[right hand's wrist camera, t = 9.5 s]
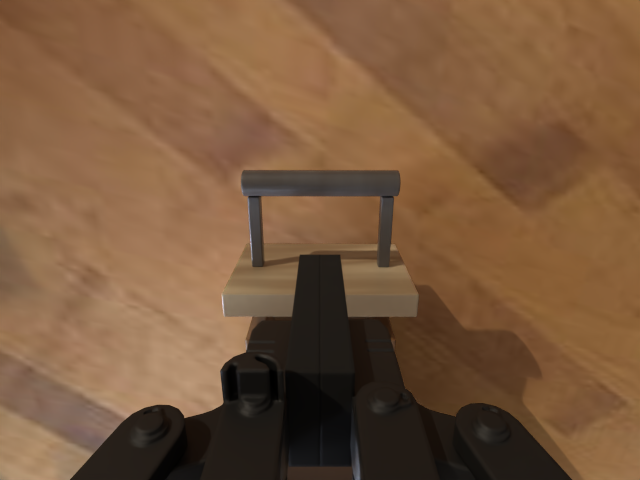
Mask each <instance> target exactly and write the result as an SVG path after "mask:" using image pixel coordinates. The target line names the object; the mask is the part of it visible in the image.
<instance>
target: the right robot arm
mask: <svg viewBox="0 0 640 480" xmlns="http://www.w3.org/2000/svg"><path fill="white" fill-rule="evenodd" d="M220 373H221V382H222V391H223V401H224V403H223V405H221V406H220V407H218V408H216V409H214V410H212V411H209V412H206V413H203V414H200V415H196V416H192V417H188V418H184V415H183V414H182V413H181V411H180V410H179V409H177V408H175V407H173V406H170V405H155V406H150V407H146V408H143V409H141V410H139V411H137V412H135V413H133V414H132V415H130V416H129V417H128V418H127V419H126V420H125V421H123V422H122V423H121V424H120V425H119V426H118V428H117V429H116V430H115V431H114V432H113V433H112V434H111V435H110V436H109V437H108V439H107V440H106V441H105V442H104V443H103V444H102V445H101V446H100V447H99V448H98V450H97V451H96V452H95V453H94V454H93V455H92V456H91V457H90V458H89V459H88V461H87V462H86V463H85V464H84V465H83V466H82V467H81V468H80V469H79V471H78V472H77V473H76V474H75V475H74V476H73V477H72V478H71V479H70V480H288V476H287V472H288V466H289V467H351V466H352V470H353V476H352V480H572V479H571V478H570V477H569V476H568V475H567V474H566V472H565V471H564V470H563V469H562V468H561V467H560V466H559V465H558V464H557V463H556V462H555V460H554V459H553V458H552V457H551V456H550V455H549V454H548V453H547V452H546V451H545V449H544V448H543V447H542V446H541V445H540V444H539V443H538V442H537V441H536V440H535V439H534V437H533V436H532V435H531V434H530V433H529V432H528V431H527V430H526V429H525V428H524V426H523V425H522V424H521V423H520V422H519V421H518V420H517V419H515V418H514V417H513V416H512V415H511V414H509V413H508V412H506V411H504V410H502V409H500V408H498V407H496V406H492V405H488V404H484V403H473V404H469V405H466V406H464V407H462V408H461V409H460V410H459V411H458V413H457V414H456V417H455V416H451V415H447V414H443V413H439V412H435V411H432V410H429V409H427V408H425V407H423V406H421V405H420V404H418V403H417V402H416V400H415V398H414V397H413V395H412V393H411V392H409V391H408V390H407V389H406V388H405V386H404V383H403V379H402V376H401V372H400V369H399V366H398V362H397V359H396V355H395V352H394V348H393V345H392V342H391V338H390V334H389V331H388V328H387V327H386V326H385V325H384V324H383V323H382V322H381V321H380V320H379V319H348V312H347V304H346V296H345V288H344V280H343V272H342V264H341V256H340V255H300V256H299V264H298V272H297V280H296V288H295V296H294V304H293V312H292V320H262V321H261V322H260V323H259V324H258V325H257V326H256V327H255V328H254V329H253V330H252V332H251V336H250V339H249V344H248V346H247V350H246V353H243V354H240V355H238V356H235V357H233V358H232V359H230V360H229V361H228V362H226V363H225V364H224V366H223V367H222V369H221V371H220Z"/></svg>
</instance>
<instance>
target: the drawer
mask: <svg viewBox="0 0 640 480" xmlns="http://www.w3.org/2000/svg"><path fill="white" fill-rule="evenodd" d="M241 188H242V193H243V195H244V196H249V197H248V212H249V227H250V242H251V244H246V247H245V249H244V251H243V253H242V255H241V257H240V259H239V261H238V263H237V265H236V267H235V269H234V271H233V273H232V275H231V277H230V279H229V281H228V283H227V285H226V287H225V289H224V291H223V293H222V301H223V312H224V316H249V317H253V318H252V321H251V324H250V327H249V331H248V334H247V337H246V340H245V341H246V350H247V346H248V344H249V339H250V336H251V332H252V330H253V329H254V328H255V327H256V326H257V325H258V324H259V323H260V322H261V321H262V320H292V312H293V304H294V296H295V288H296V280H297V272H298V264H299V256H300V255H340V256H341V264H342V272H343V280H344V288H345V296H346V304H347V312H348V319H379V320H380V321H381V322H382V323H383V324H384V325H385V326H386V327H387V328H388V331H389V334H390V338H391V342H392V345H393V348H394V352H395V338H394V334H393V331H392V328H391V324H390V321H389V317H417V311H418V301H419V294H418V292H417V289H416V287H415V285H414V283H413V281H412V279H411V277H410V275H409V273H408V271H407V268H406V266H405V264H404V262H403V260H402V258H401V256H400V254H399V252H398V249H397V247H396V245H395V244H391V234H392V219H393V204H394V197H393V196H398V194H399V191H400V173H399V171H397V170H244V171H243V172H242V175H241ZM261 196H380V211H379V229H378V244H264V241H263V223H262V204H261Z"/></svg>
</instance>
